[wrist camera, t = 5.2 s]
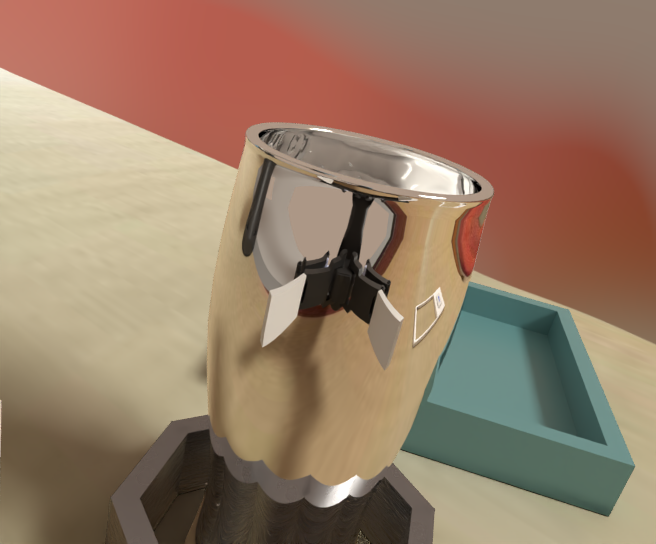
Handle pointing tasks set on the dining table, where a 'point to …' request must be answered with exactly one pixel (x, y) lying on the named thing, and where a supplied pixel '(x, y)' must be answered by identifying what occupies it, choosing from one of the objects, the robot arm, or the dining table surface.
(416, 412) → the silver metal tumbler
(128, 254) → the dining table surface
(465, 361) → the tray
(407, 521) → the holder ring
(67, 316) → the dining table surface
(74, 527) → the dining table surface
